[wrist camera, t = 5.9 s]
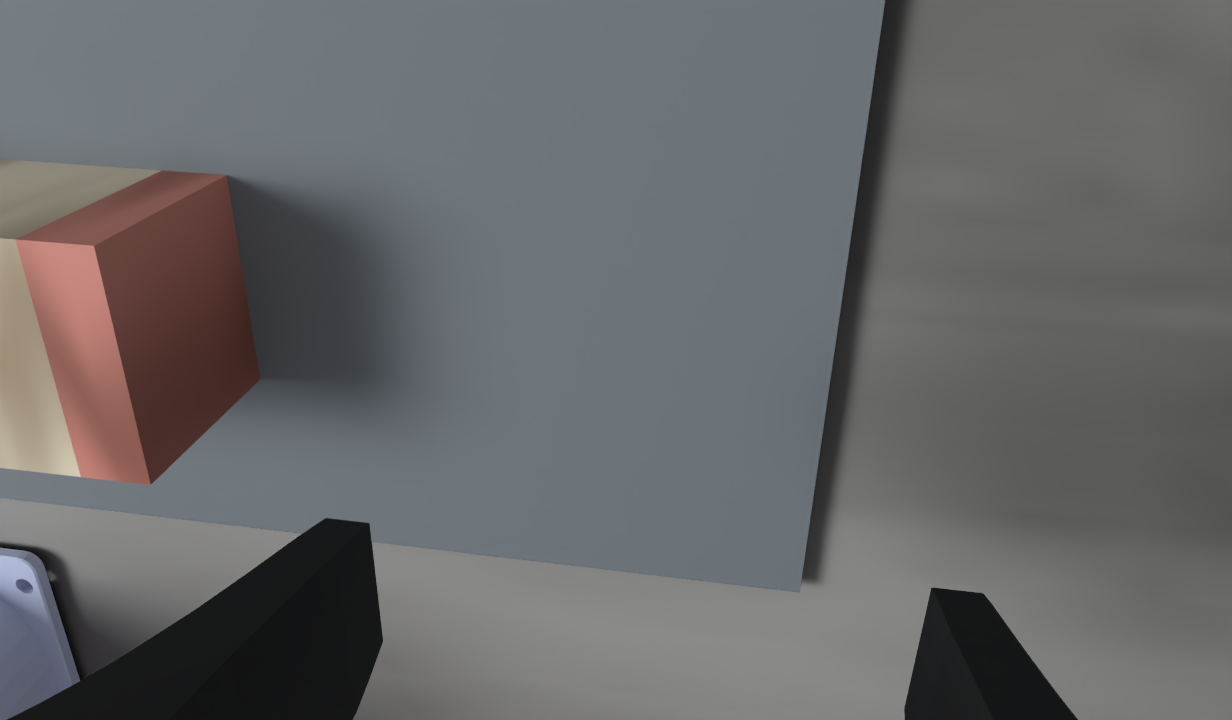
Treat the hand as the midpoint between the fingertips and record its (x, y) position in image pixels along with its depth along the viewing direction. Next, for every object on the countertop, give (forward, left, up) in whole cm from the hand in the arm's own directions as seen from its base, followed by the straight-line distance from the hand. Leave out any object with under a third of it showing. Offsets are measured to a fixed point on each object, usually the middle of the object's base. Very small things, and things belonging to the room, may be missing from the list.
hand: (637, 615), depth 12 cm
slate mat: (+1, +9, -10) cm, 13 cm away
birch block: (0, +10, -7) cm, 12 cm away
